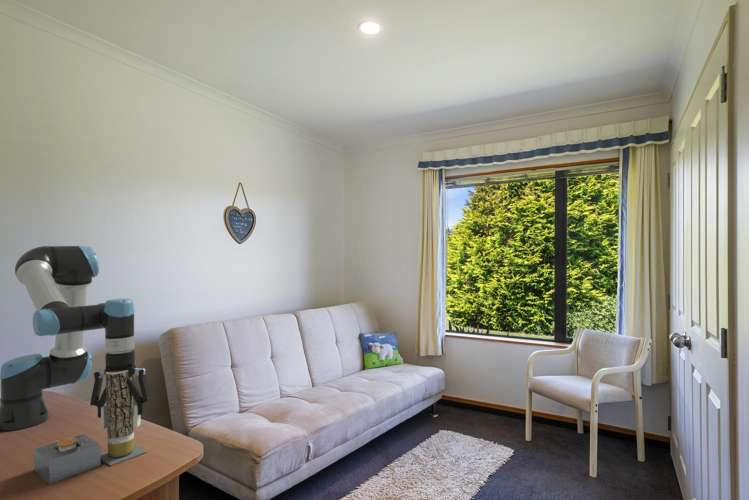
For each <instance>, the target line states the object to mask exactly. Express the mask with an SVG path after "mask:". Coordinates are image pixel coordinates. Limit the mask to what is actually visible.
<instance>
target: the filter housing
mask: <svg viewBox="0 0 749 500" xmlns="http://www.w3.org/2000/svg"><path fill="white" fill-rule="evenodd" d="M75 437H76V438H77V443H76V448H73V449H69V450H66V451H63V452H59V447H58V446H57V442H58V441H57V442H53V443H50V444H47V445H43V446H40V447H38V448H34V449H33V451H34V453H33V454H34V455H33V456H34V459H33V461H34V465H33V466H34V472H35V473H36V474H38V475H39V476H40V477H41V479H43V480H44V481H46V482H47V483H48V484H49V485H51V484H53V483H57V482H59V481H63V480H65V479H67V478H70V477H73V476H75V475H78V474H81V473H84V472H87V471H89V470H91V469H94V468H97V467H101V460H100V454H101V443H98V442H97V441H95V440H94V439H92V438H91V437H89V436H88V435H85V434H84V433H83V434H80V435H77V436H75Z"/></svg>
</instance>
